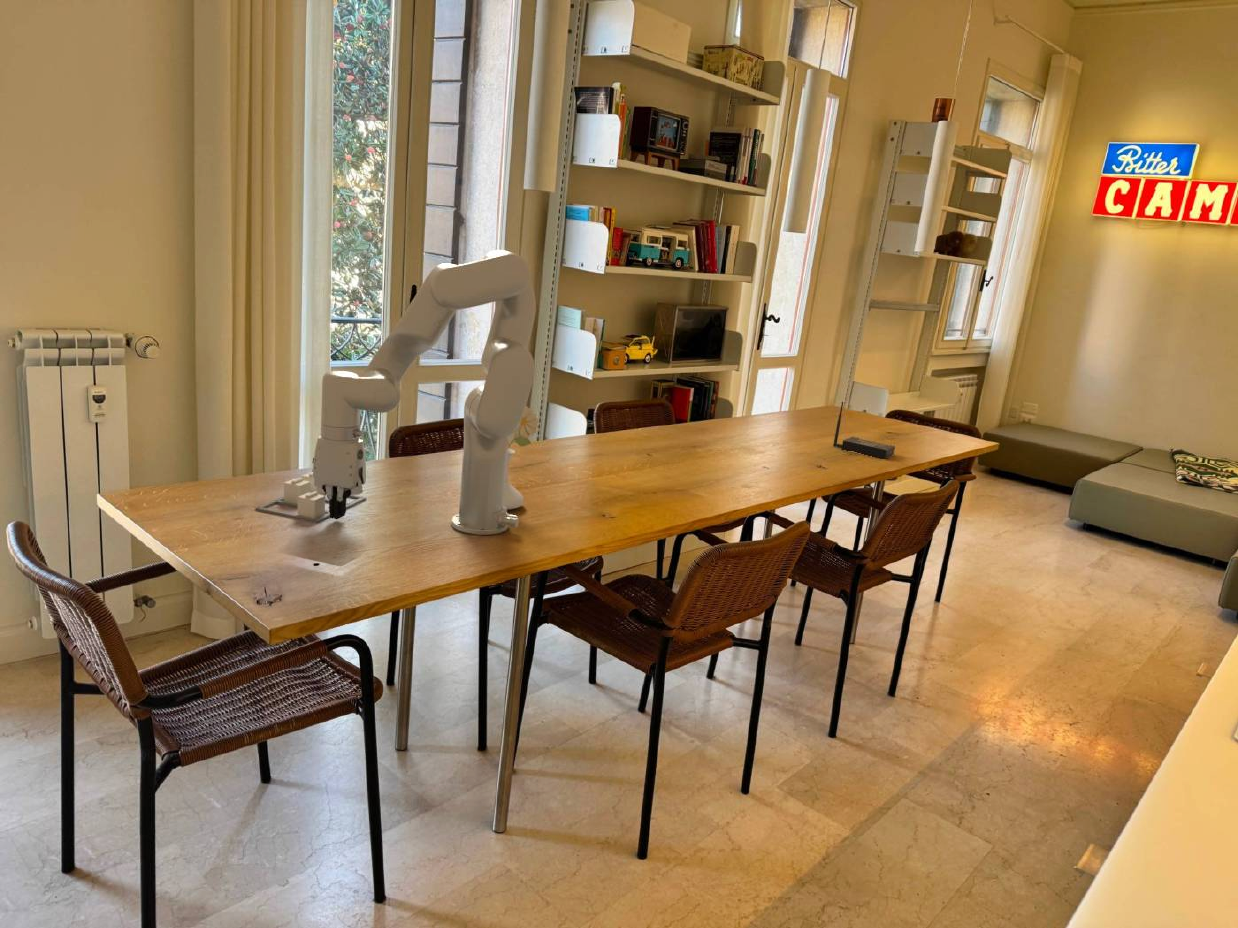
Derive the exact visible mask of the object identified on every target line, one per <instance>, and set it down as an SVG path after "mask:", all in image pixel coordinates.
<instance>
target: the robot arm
mask: <svg viewBox="0 0 1238 928" xmlns="http://www.w3.org/2000/svg"><path fill="white" fill-rule="evenodd" d="M531 272H532V271H531V267H530V265H529V263H528V262H527V260H526V259H525V258H524V257H522V256H521V255H519V254H517V253H515V252H511V251H509V250H504V249H495V250H492V251H490V252H488V253H486V255H485V256H484V257H483V259H481V260H476V261H473V262H472V261H471V262H468V263H463V264H458V265H457V264H453V263H447V262H446V263H441V264H438V265H436V266H435V267H434V268H433V269H432V270H431V271H430V272H429V273H428V275H427V276H426V278H425V279H424V281H423V283H422V284H421V286H420V288H419V289H418V290H417V293H416V294H415V296H414V297H413V299H412V300H411V302H410V304H409V306H408V307H407V308H406V310H405V312H404V313H403V315H402V316H401V318H399V320H398V322H397V323H396V325H395V326H394V327H393V329H392V330H391V331H390V332H389V335H388V336H387V337H386V338H385V340H384V341H383V342H382V344H381V345H380V347H379V348H378V350H377V351H376V353H374V356H373V358H372V359H371V361H370V362H369V364H368V365H367V367H366V369H365V370H364V372H363V373H362V376H359V374H358V373H354V372H352V371H346V370H332V371H328V372H326V373H324V375H323V376H322V381H321V383H322V384H321V414H320V416H321V418H320V435H319V436H318V437H317V441H316V444H315V449H314V454H313V455H314V457H313V458H314V462H313V461H312V465H313V466H312V470H313V478H314V480H315V481H314V485H315V486H317V487H319V488H321V489H323V491H324V492H325V493H326V494H325V495H326V499H329V503H328V511H329V512H330V518H329V519H335V520H339V519H341V518H344V516H345V515H346V513H347V509H346V503H347V499H349V496H351V495H357V496H359V495H361V494H362V493H363V492H364V491H363V485H364V484H366V482H367V461H366V459H367V458H366V451H365V444H364V441H363V439H360V438H364V436H365V431H364V430H362V429H361V424H360V423H361V422H360V420H361V410H362V411H368V412H371V413H372V412H373V413H377V414H378V413H380V414H383V413H385V414H386V413H389V412H392V411H393V410H395V409H396V408H397V407H398V406H399V404H400V403H401V399H402V392H401V388H400V386H399V384H400V383H401V382H402V380H403V378H404V376H405V375H406V373H407V372H408V370H409V369H410V368H411V366H412V365H413V364H414V362H415V361H416V360H417V359H418V358H419V357H420V356H421V355H423V354H425V353H427V352H428V351H430V350H431V349H432V348H433V347H434V346H435V345H436V344H437V343H438V342H439V339H440V338H441V336H442V335H443V333H444V331H445V330H446V329H447V326H449V323H450V322H451V320H452V319H453V317H454V315H456V313H457V311H458V310H459V311H460V310H464V309H465V310H466V309H470V308H474V307H475V308H476V307H480V306H483V305H487V304H491V303H494V302H495V303H494V312H493V317H492V321H491V325H490V330H489V332H488V336H487V339H486V342H485V345H484V348H483V350H482V351H483V352H482V354H481V359H480V360H481V361H480V363H481V366H482V370H483V371H484V373H485V374H486V377H485V380H484V384H481V385H479V386H476V387H474V389H472V390H471V392H469V393H468V395H467V396H466V399H465V402H464V406H463V407H464V408H463V453H462V465H461V479H460V480H461V481H460V491H459V493H460V494H459V509H458V513H457V514H455V515H453V516H452V518H451V519H450V520H451V522H450V523H451V524H450V525H451V526H452V527H453V528H454V529H455V530H457V531H460V532H462V533H466V534H469V535H470V534H471V535H477V536H478V535H479V536H487V535H488V536H489V535H497V534H501V533H503V532H506V531H507V530H508V528H509V527H513V528H514V527H515V528H518V526H519V522H520V519H519V518H518V517H519V516H518V515H515V514H514V515H513V514H510V513H509V512H508V510H507V507H503V499H504V487H505V475H506V463H507V453H508V446H509V445H508V443H509V438H510V437H511V436H513V435H514V434H513V433H514V432H515V431H516V430H517V428H518V426H519V424H520V422H521V419H522V416H523V413H524V410H525V406H527V402H528V401H529V400H528V399H529V396H530V392H531V389H532V385H533V382H534V377H535V369H536V368H535V360H534V358H533V356H532V353H531V352H530V350H528V346H529V342H530V338H531V337H532V336H531V334H532V330H533V326H534V322H535V317H536V309H537V307H536V305H537V304H536V303H537V302H536V301H537V300H536V295H535V291H534V288H533V284H532V282H531V277H532V274H531Z"/></svg>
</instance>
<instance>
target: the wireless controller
mask: <svg viewBox="0 0 1238 928" xmlns="http://www.w3.org/2000/svg"><path fill="white" fill-rule="evenodd" d="M843 407H844V401H842V402H841V405H840V410H839V415H838V420H837V423H836V428H835V434H834V438H833V446H835V447H837V448H841V449H840V450H841V451H844V450H846V451H845V452H848V451H854V452H857V453H861V454H864V455H863V456H865V455H868V456H867V457H870V456H872V457H871V458H874V457H875V459H878V458H879V460H882V459H886V460H888V459H890V458H891V457H890V456H892V455H893V456H894V455H895V450H896V446H895V445H891V444H890V445H889V444H883V443H880V442H879V443H878V442H875V441H870V440H867V439H866V440H865V439H862V438H859V437H857V436H856V437H855V436H851V437H848V438H845V439H842V443H841V444H840V443H838V440H839V439H838V438H839V433H840V428H841V420H842V413H843ZM833 446H832V447H833ZM857 453H856V454H857ZM861 454H860V455H861ZM893 456H892V457H893ZM889 457H890V458H889ZM887 458H888V459H887Z"/></svg>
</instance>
